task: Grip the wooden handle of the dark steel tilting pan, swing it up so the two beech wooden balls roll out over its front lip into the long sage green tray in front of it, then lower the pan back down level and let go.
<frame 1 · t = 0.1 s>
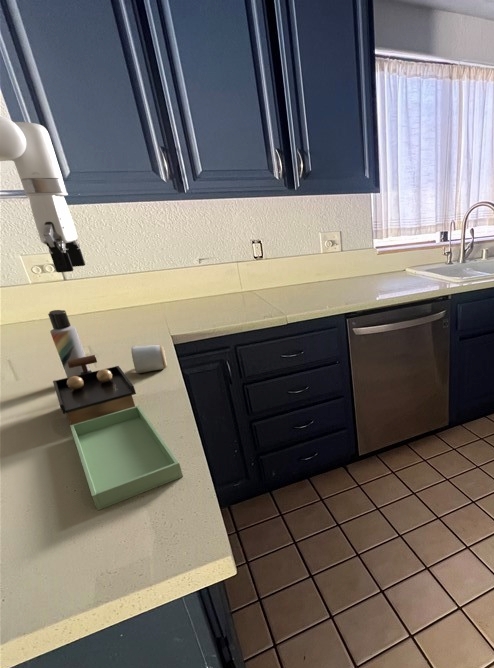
hand: (71, 268, 100), 31 cm above the counter, tool pointing down, fingers open, 9 cm apart
stand: (101, 409, 102), on the counter
pan: (90, 378, 101), point 7 cm above the counter, hinge at -0.1°, touching ball a, ball b
ceramic mug: (152, 369, 126), on the counter
lotion bottle: (81, 381, 120), on the counter
ball b: (75, 382, 100), point 7 cm above the counter, touching pan
ball a: (104, 375, 103), point 7 cm above the counter, touching pan
tray: (124, 455, 83), on the counter
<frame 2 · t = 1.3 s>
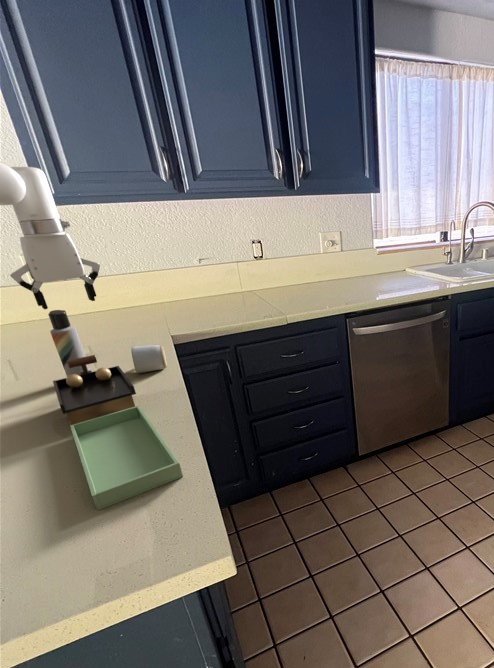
hand: (69, 304, 102), 23 cm above the counter, tool pointing down, fingers open, 9 cm apart
ball b: (74, 380, 101), point 7 cm above the counter, tilted 61°, touching pan
ball a: (103, 374, 105), point 7 cm above the counter, tilted 61°, touching pan
everything else where it was.
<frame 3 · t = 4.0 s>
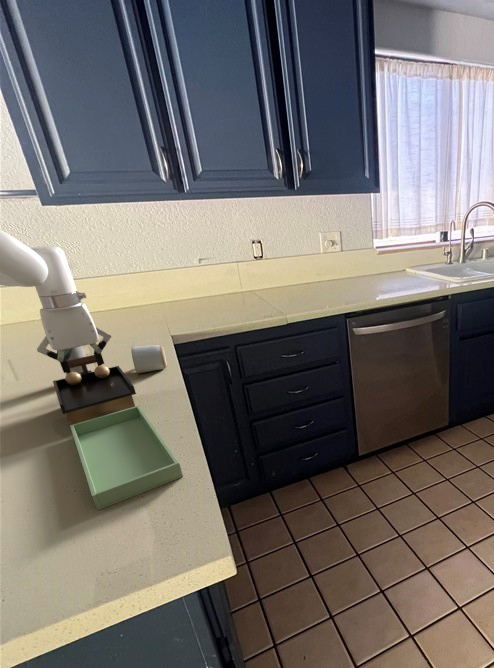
hand: (85, 370, 109), 7 cm above the counter, tool pointing down, fingers closed on pan, 6 cm apart
pan: (90, 378, 101), point 7 cm above the counter, hinge at -0.1°, touching ball a, ball b, gripper
ball b: (73, 378, 103), point 7 cm above the counter, tilted 136°, touching pan
ball a: (101, 371, 106), point 7 cm above the counter, tilted 136°, touching pan
everything else where it was.
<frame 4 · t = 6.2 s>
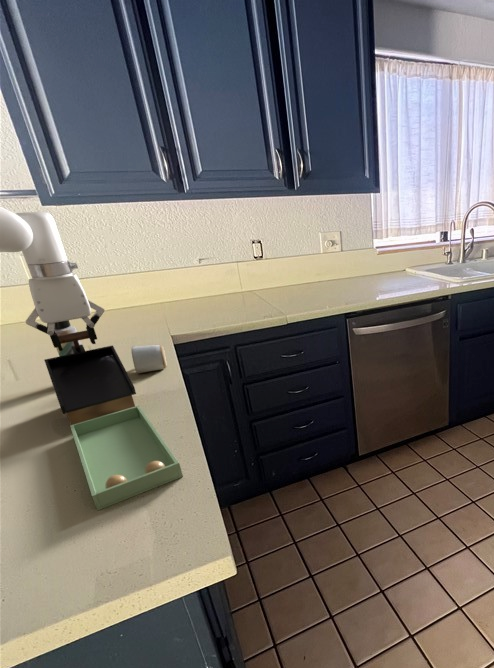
hand: (77, 345, 103), 14 cm above the counter, tool pointing down, fingers closed on pan, 6 cm apart
pan: (85, 365, 98), point 11 cm above the counter, hinge at 19.7°, touching gripper
ball b: (116, 484, 71), point 2 cm above the counter, tilted 159°, touching tray
ball a: (155, 470, 74), point 2 cm above the counter, tilted 160°, touching tray
everything else where it was.
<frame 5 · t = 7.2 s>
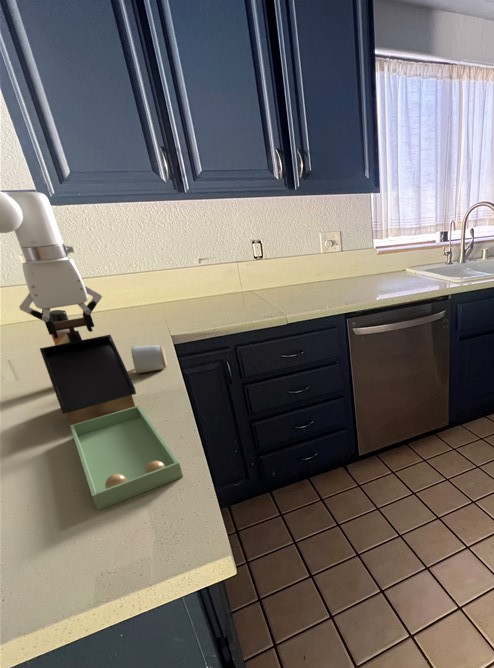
hand: (73, 333, 100), 18 cm above the counter, tool pointing down, fingers closed on pan, 6 cm apart
pan: (84, 359, 97), point 13 cm above the counter, hinge at 31.8°, touching gripper
ball b: (116, 483, 71), point 2 cm above the counter, tilted 147°, touching tray
everything else where it was.
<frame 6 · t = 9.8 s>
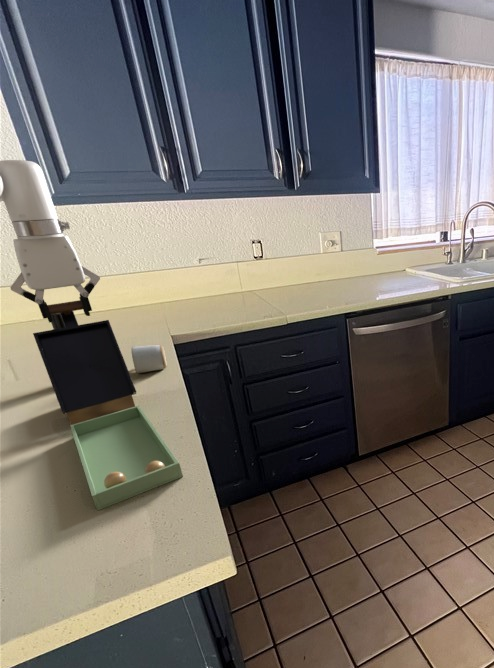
hand: (69, 317, 92), 23 cm above the counter, tool pointing down, fingers closed on pan, 6 cm apart
pan: (82, 353, 93), point 16 cm above the counter, hinge at 55.2°, touching gripper
ball b: (115, 481, 72), point 2 cm above the counter, tilted 115°, touching tray
everything else where it was.
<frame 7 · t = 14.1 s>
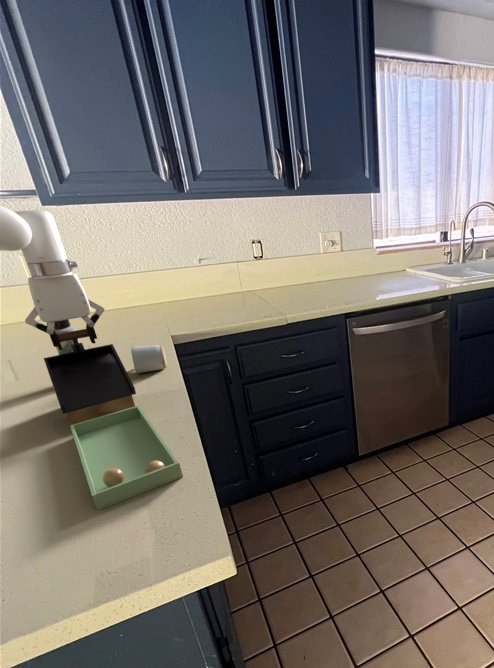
hand: (76, 344, 103), 14 cm above the counter, tool pointing down, fingers closed on pan, 6 cm apart
pan: (85, 365, 98), point 11 cm above the counter, hinge at 21.1°, touching gripper
ball b: (113, 477, 73), point 2 cm above the counter, tilted 64°, touching tray
everything else where it was.
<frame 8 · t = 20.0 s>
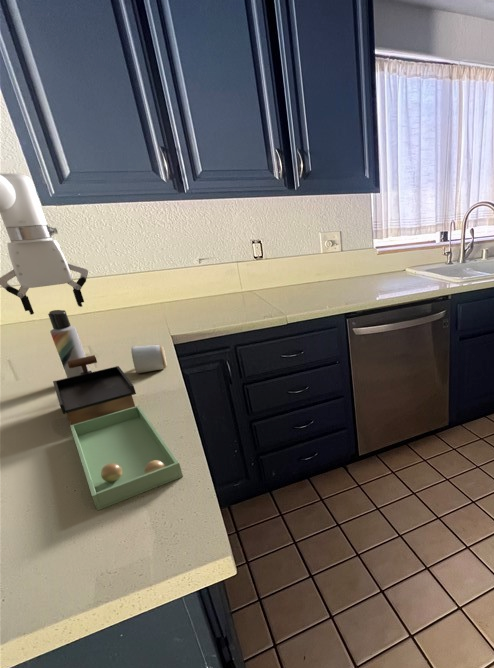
hand: (56, 309, 103), 22 cm above the counter, tool pointing down, fingers open, 9 cm apart
pan: (90, 378, 101), point 7 cm above the counter, hinge at -0.3°
ball b: (111, 472, 74), point 2 cm above the counter, tilted 8°, touching tray
everything else where it was.
at the end: ball a inside the target area in the tray (13.5 cm from its centre), point 2.0 cm above the tray's base; ball b inside the target area in the tray (9.1 cm from its centre), point 2.0 cm above the tray's base; pan at +0° (first picture: +0°) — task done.
